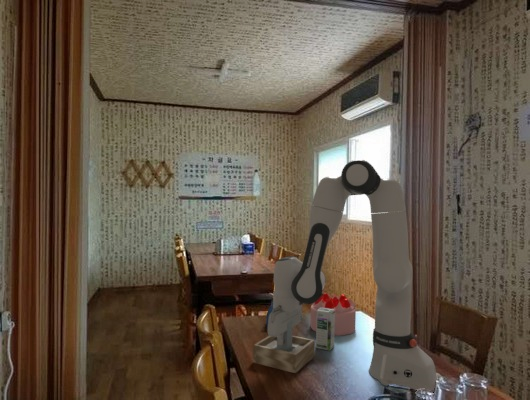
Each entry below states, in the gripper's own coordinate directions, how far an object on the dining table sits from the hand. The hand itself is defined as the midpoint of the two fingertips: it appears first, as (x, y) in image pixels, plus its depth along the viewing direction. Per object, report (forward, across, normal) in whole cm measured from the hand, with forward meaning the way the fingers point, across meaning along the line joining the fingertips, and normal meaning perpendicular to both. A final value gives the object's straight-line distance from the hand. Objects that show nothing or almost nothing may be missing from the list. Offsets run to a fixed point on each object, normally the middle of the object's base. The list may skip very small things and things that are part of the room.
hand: (284, 342), depth 137 cm
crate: (+6, 0, 0) cm, 6 cm away
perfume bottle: (+6, +32, +21) cm, 39 cm away
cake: (+6, +42, -3) cm, 43 cm away
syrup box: (+6, +19, -8) cm, 22 cm away
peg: (+5, 0, 0) cm, 5 cm away
